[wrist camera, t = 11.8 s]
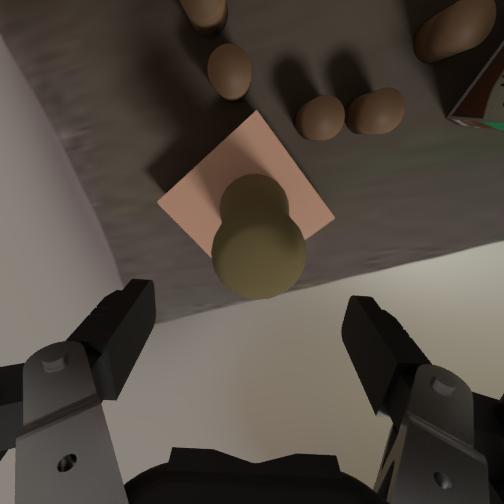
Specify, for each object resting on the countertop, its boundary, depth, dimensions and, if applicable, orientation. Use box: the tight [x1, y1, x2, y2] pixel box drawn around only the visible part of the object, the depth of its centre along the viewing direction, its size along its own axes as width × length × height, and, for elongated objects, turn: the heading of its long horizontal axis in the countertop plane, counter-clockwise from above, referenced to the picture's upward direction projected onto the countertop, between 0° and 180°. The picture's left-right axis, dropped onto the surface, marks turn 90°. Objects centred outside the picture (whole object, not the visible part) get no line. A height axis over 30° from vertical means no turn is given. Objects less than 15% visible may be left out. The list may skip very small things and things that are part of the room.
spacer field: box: [179, 0, 496, 140], centre depth 19 cm, size 17×17×4 cm
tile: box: [157, 110, 335, 258], centre depth 25 cm, size 11×11×3 cm
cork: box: [211, 174, 306, 299], centre depth 18 cm, size 6×6×11 cm
